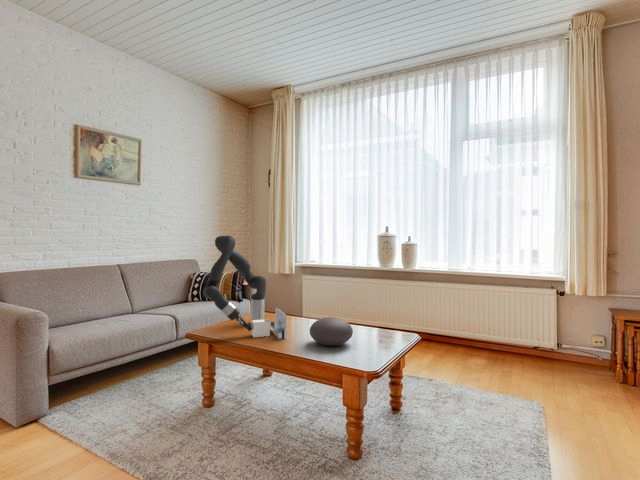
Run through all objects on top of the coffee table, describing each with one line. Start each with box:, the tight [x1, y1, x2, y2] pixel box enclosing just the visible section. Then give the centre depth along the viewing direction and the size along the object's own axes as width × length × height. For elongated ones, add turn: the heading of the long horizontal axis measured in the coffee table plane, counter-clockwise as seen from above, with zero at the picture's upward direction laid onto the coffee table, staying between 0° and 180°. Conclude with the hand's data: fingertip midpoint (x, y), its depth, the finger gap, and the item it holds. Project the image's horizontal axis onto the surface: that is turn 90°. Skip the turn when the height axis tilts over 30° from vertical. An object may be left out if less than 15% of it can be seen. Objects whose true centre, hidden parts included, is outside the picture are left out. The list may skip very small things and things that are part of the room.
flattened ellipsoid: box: [309, 316, 354, 347], centre depth 205 cm, size 25×25×15 cm
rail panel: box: [270, 307, 288, 340], centre depth 225 cm, size 24×5×14 cm, turn 20°
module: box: [250, 318, 271, 338], centre depth 221 cm, size 6×10×10 cm, turn 110°
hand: (250, 329), depth 219 cm, fingers closed
